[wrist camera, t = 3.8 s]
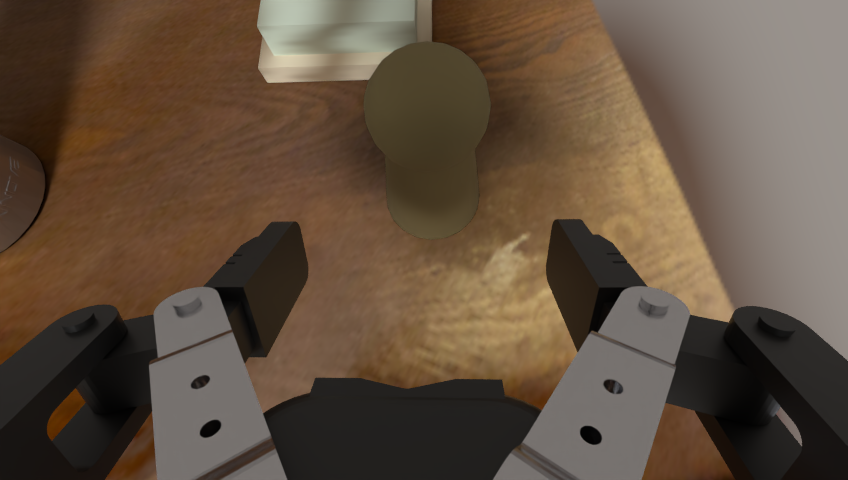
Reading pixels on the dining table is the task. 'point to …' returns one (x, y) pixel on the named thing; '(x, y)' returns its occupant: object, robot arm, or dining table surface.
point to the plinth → (332, 62)
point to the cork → (429, 135)
